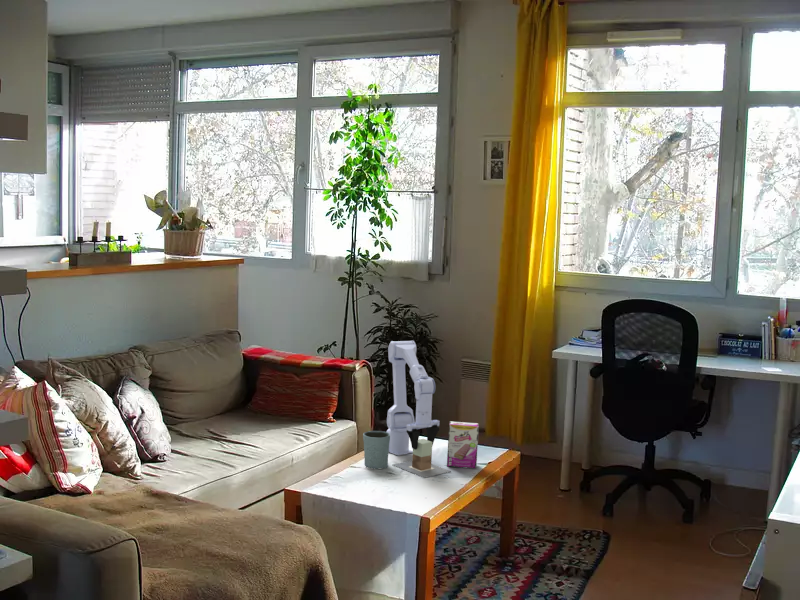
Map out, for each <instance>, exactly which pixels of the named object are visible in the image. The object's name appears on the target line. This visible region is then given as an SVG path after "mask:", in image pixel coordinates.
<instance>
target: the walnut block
mask: <svg viewBox="0 0 800 600" xmlns="http://www.w3.org/2000/svg"><path fill="white" fill-rule="evenodd" d="M432 455H433V454H432ZM432 455H430V456H425V457H420V456H417V455H414V454H413V453H412V455H411V457H412V458H411V459H412V460H411V461H412V467H413V468H416V469H418V470H425V469H430V468H431V464H432Z"/></svg>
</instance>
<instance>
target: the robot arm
mask: <svg viewBox="0 0 800 600" xmlns="http://www.w3.org/2000/svg"><path fill="white" fill-rule="evenodd" d="M417 350H418V349H417V344H416V342H415V340H400V341H399V340H398V341H393V340H391V341H390V343H389V345H388V348H387V352H388V356H387V357H388V362H389V363H391V364H392V381H393V382H392V385H393V405H392V406H391V407H390V408H389V409H387V414H386V415H387V417H386V427H387V428H388V429H387V430H386V432H388V433H389V434H390V443H389V453H390V454H393V455H396V456H403V455H407V454H413V449H415V450H416V449H417V447H418V440H419V438H420V435H421V432H420V431H418V430H420V429H425V430H426V436H427V437H426V440H428V441H431V442H432V447H433V446H434V442H435V439H436V437H437V435H438V433H439V431H440V420H439V419H432V414H433V413H432V411H433V410H432V409H433V408H432V406H433V395H434V394H435V392H436V382H435V380H434V378H432V377H431V376H429V375H428V373H427V372H426V369H425V367H424V366H423V365H422V364H420V363H419V360H418V357H417ZM406 364H407V365H408V367H409V375H410V378H411V380H412V382H413V383H414V387H413V388H414V395H415V396H414V398H415V399H416V404H415V406H416V407H415V416H414V410H413V409H412V408H411V407H410V406H408V404H407V382H406V381H407V380H406V379H407V378H406ZM409 444H410V445H411V449H412V450H411V449H410V445H409Z"/></svg>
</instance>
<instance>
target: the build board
mask: <svg viewBox="0 0 800 600" xmlns="http://www.w3.org/2000/svg"><path fill="white" fill-rule="evenodd" d="M393 465H394V466H393ZM392 466H393V467H395V466H396V468H398V467H399V468H398V469H400V468H401V470H403V471H405V470H406V471H405V472H408V473H410V472H411V473H410V474H413V475H415V474H416V476H418V477H420V476H421V478H423V479H426V478H432V477H435V476H439V474H440V475H444V474H448V473H451V472H452V471H451V470H449V469H446V468H443V467H441V466H438V465H435V464H433V463H431V468H430V469H425V470H418V469H416V468H413V467H412V460H408V461H403V462H399V463H393V464H392ZM447 472H448V473H447ZM443 473H444V474H443Z"/></svg>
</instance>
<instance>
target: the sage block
mask: <svg viewBox="0 0 800 600" xmlns="http://www.w3.org/2000/svg"><path fill="white" fill-rule="evenodd" d="M412 451H413V453H412V455H413V454H414V455H417V456H420V457H425V456H430V455H433V446H432V442H431V441H428V440H427V438H426V439H424V438H420V439H418V447H417V449H416V450H415V449H413V448H412Z"/></svg>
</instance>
